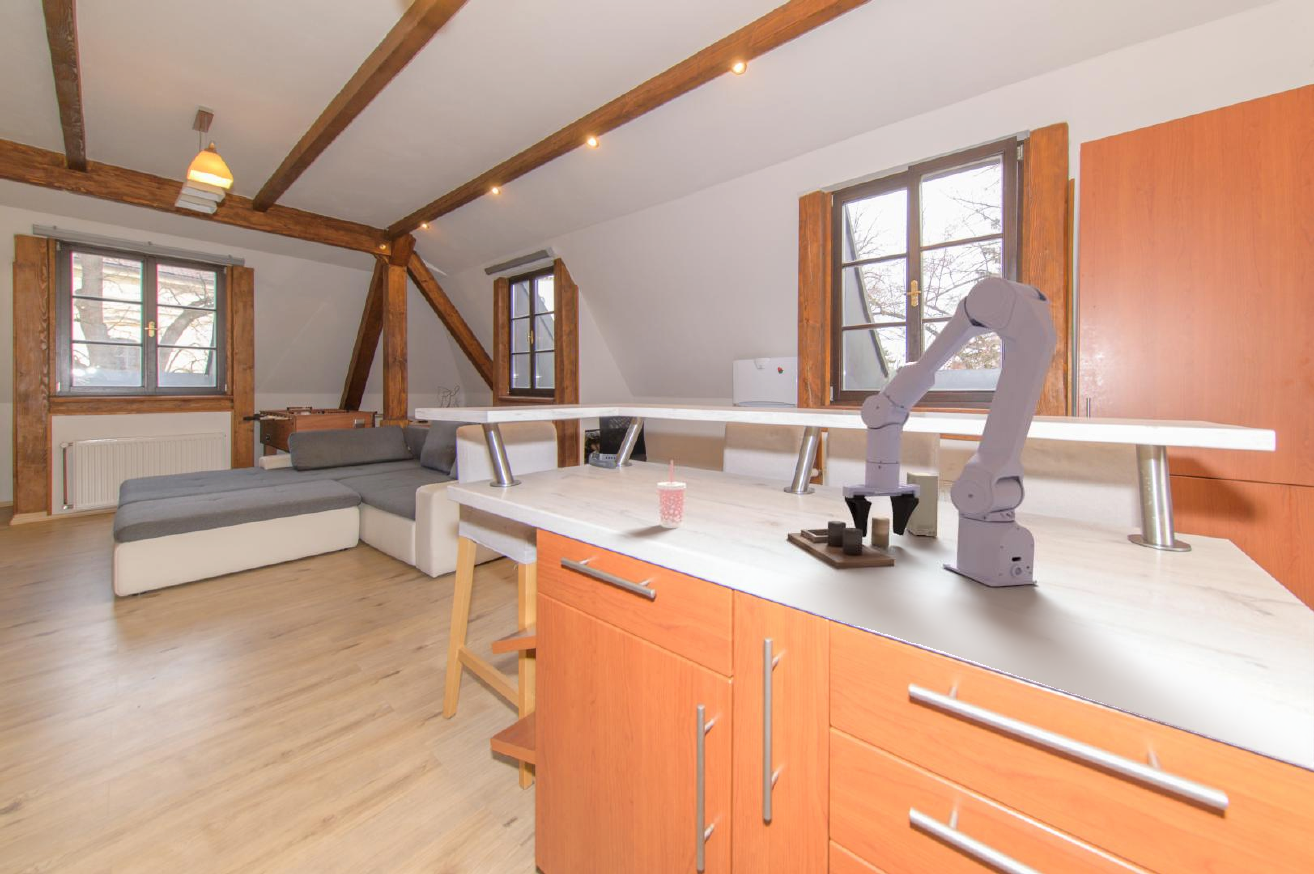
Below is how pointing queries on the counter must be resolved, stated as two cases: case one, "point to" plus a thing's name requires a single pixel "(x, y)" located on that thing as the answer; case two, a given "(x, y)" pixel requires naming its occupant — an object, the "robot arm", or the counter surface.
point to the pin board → (839, 556)
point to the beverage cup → (671, 502)
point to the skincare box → (924, 504)
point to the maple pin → (880, 532)
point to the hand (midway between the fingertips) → (879, 534)
